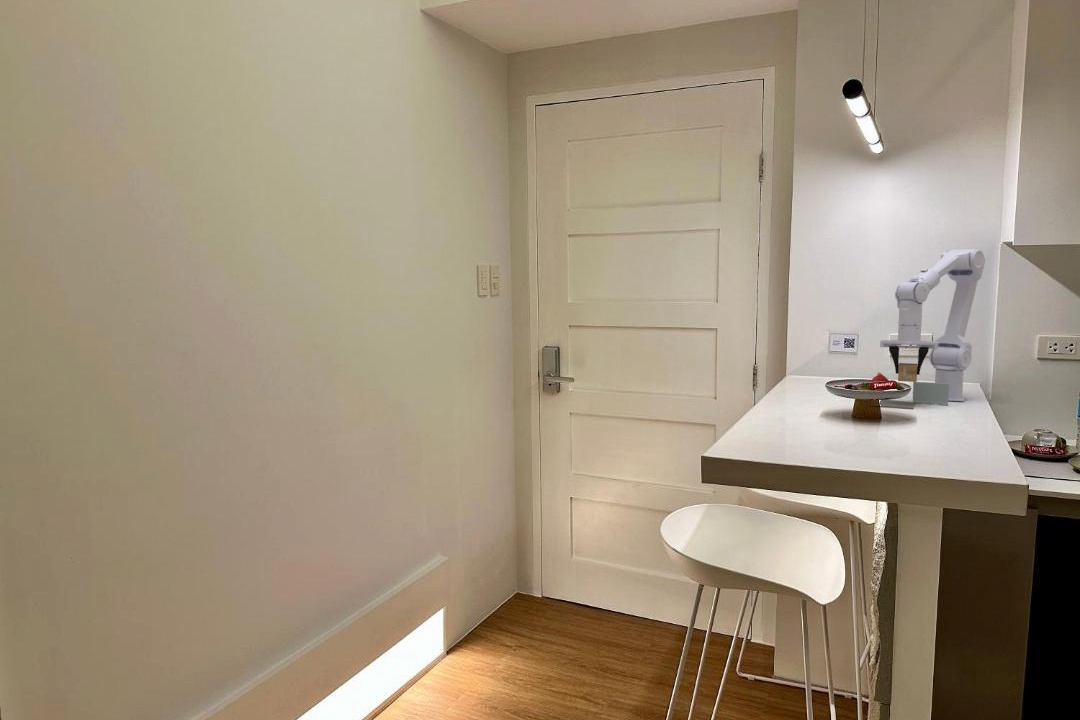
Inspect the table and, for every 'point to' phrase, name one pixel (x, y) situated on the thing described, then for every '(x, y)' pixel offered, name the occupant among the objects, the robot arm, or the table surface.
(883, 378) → the onion
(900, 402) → the grey square plate
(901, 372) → the taped cardboard box
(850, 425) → the table surface
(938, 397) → the screen
